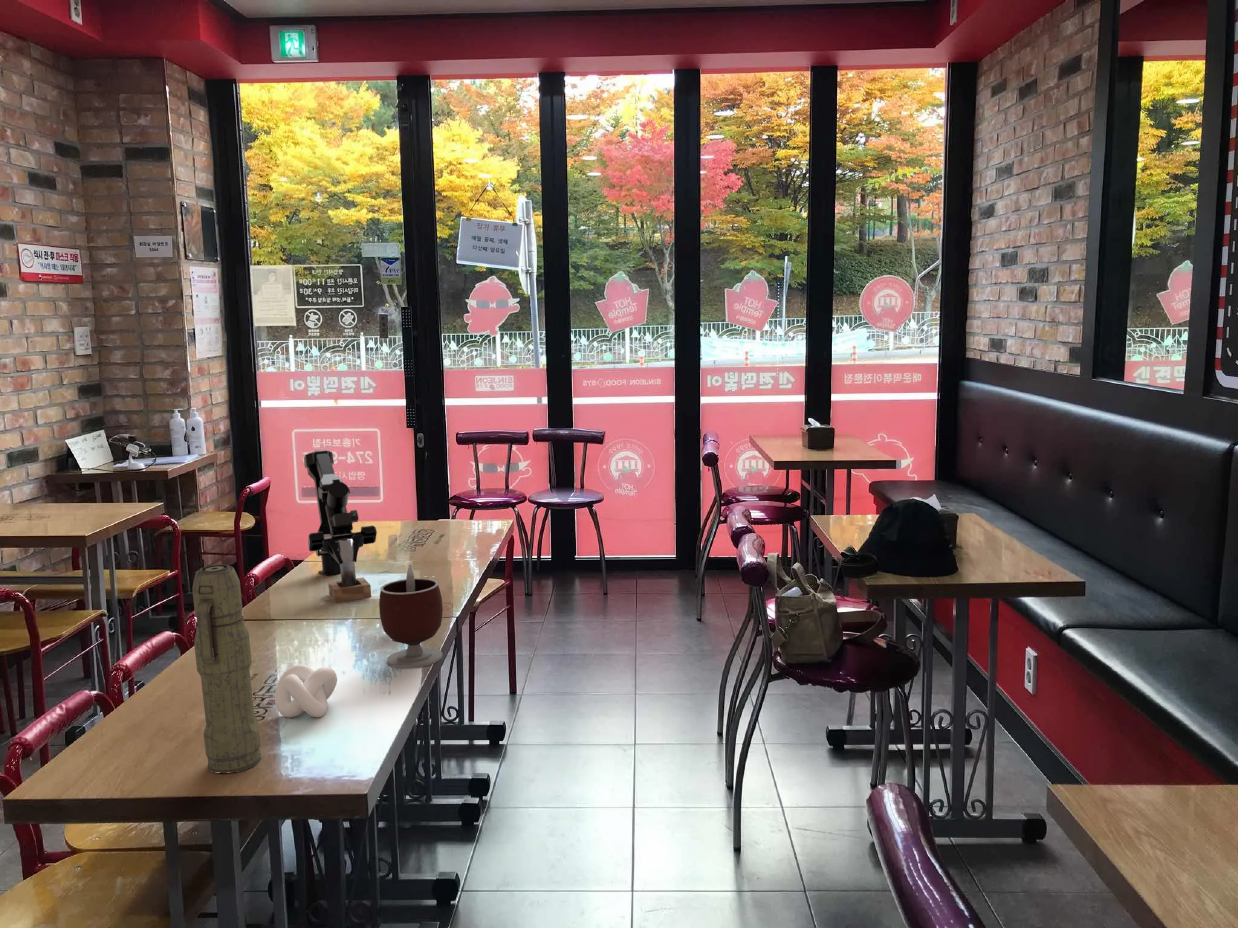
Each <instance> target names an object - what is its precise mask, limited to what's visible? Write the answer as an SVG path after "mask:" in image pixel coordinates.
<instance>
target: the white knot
mask: <svg viewBox="0 0 1238 928" xmlns="http://www.w3.org/2000/svg"><path fill="white" fill-rule="evenodd" d="M337 682H338V677H337V673H336V671H335V670H334V669H333V668H331V667H328V666H326V667H325V666H324V667H323V666H322V667H319V668H317V669H315V670H314V669H312V668H311V667H310V666H308V665H306V664H300V663H299V664H294V665H292V666H290V667H289V668H287V669H286V670H285V671H284V672H283V673H282V674H281V676H280V678H279V680H278V682H277V684H276V688H275V693H274V703H275V707H276V709H277V711H278V712H279V714H280V715H282V716H283V717H285V718H296V717H298V716H299V715H301V714H302V713H303V712H305V713H306V714H308V715H309V716H311V717H314V718H321V717H323V716H325V714H326V713H327V711H328V699H329V698H330V697H331V696H332V694H333V693H334V692H335V689H336V686H337V684H338V683H337ZM292 699H293V700H292Z"/></svg>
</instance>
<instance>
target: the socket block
mask: <svg viewBox="0 0 1238 928" xmlns="http://www.w3.org/2000/svg"><path fill="white" fill-rule="evenodd" d="M327 587H328V595H329V596H330V597H331V599H332V600H333V602H334V603H340V602H347V601H354V600H359V599H366V598H371V597H372V589H371V584H370V583H369V582H368V581H367V579H366V578H365V577H356V584H355V585H352V586H342V582H341V580H337V581H331V582H329V581H328V582H327Z"/></svg>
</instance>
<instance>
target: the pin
mask: <svg viewBox="0 0 1238 928" xmlns="http://www.w3.org/2000/svg"><path fill="white" fill-rule="evenodd" d="M338 546H339V556H340V560H341V564H340V570H341V573H340V581H341V582H342V586H352V585H355V584H356V578H357V574H356V567H355V566H356V565H355V564H356V562H355V561H354V550H353V539H352V538H343V539H339V540H338Z"/></svg>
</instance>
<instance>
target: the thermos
mask: <svg viewBox="0 0 1238 928" xmlns="http://www.w3.org/2000/svg"><path fill="white" fill-rule="evenodd" d="M240 581H241V580H240V579H239V577H238V574H237V571H236V570H235V568H234V567H233V566H230V565H228V564H213V565H208V566H204V567H201V568H199V569H198V570H197V571H195V575H194V579H193V582H192V599H193V607H194V609H193V610H194V616H195V617H196V623H195V625H196V628H195V629H196V631H195V636H194V639H193V645H194V654H195V663H196V671H197V673H198V674H199V676H200V680H201V681H200V683H201V689H202V699H203V708H204V717H205V718H204V720H205V726H204V730H203V731H204V732H203V740H204V750H205V751H204V752H205V756H206V757H207V763H208V764H207V768H208V769H209V770H210V771H209V770H208V769H207V770H208V771H209V772H211V771H213V772H220V773H227V772H237V771H241V772H244V771H246V770H245V769H247V770H249V769H251V768H253V767H256V765H258V764H259V763H260V762H261V760H262V757H261V752H260V751H261V750H260V747H261V738H260V737H261V736H260V728H259V726H260V725H259V720H258V718H257V717H256V715H255V709H254V699H253V690H252V681H251V672H250V671H251V666H252V662H253V661H252V652H251V651H252V650H251V641H250V633H249V629H248V628H247V625H246V624H245V620H244V619H245V618H244V616H243V609H244V608H243V602H242V601H243V600H242V591H241V582H240ZM257 763H258V764H257ZM248 768H249V769H248ZM243 770H244V771H243ZM213 772H212V773H213ZM237 773H238V772H237Z"/></svg>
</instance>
